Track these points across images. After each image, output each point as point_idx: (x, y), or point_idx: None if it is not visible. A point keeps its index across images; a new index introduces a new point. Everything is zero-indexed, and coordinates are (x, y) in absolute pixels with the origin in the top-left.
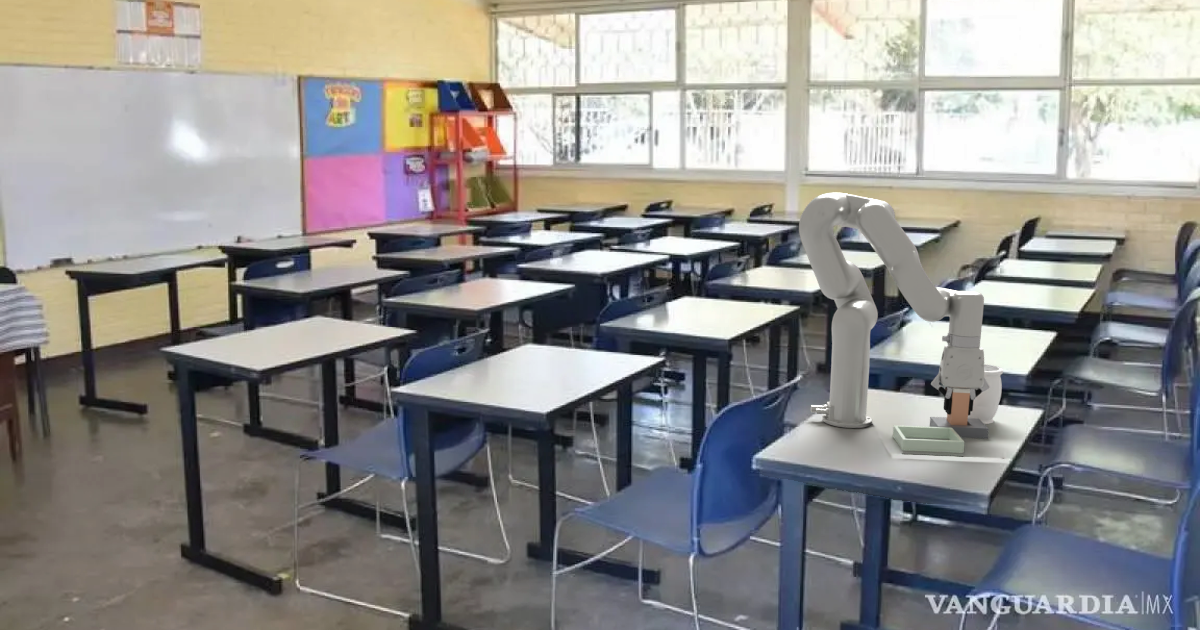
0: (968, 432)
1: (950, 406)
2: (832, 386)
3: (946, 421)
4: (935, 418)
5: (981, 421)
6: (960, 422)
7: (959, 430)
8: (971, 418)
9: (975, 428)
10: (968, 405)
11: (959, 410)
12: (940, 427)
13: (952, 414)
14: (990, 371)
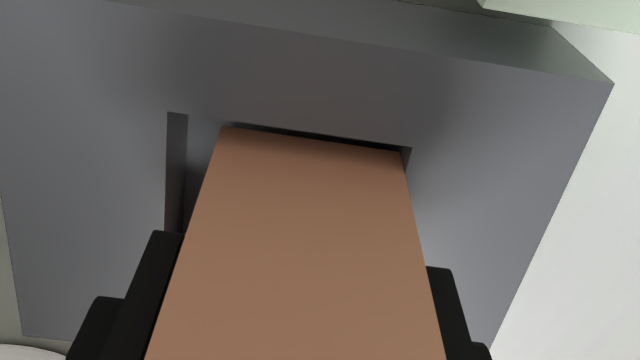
0: (245, 3)
1: (453, 347)
2: None
3: None
4: None
5: (12, 256)
6: (293, 169)
7: (354, 26)
8: None
9: (151, 6)
10: (160, 328)
11: (314, 277)
12: (636, 20)
13: (405, 245)
14: None
